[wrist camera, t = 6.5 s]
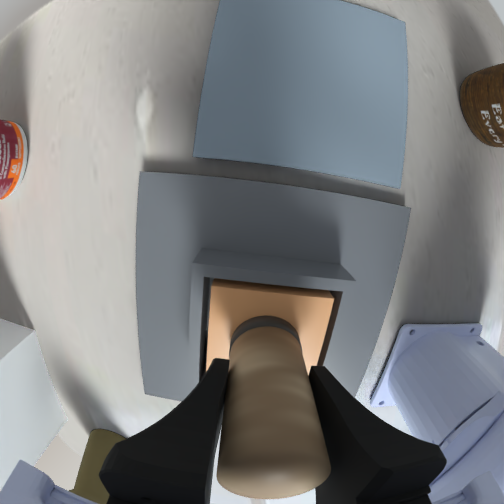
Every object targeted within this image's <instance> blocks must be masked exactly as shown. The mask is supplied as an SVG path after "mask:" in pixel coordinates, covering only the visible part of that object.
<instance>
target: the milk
mask: <svg viewBox="0 0 504 504" xmlns="http://www.w3.org/2000/svg"><path fill="white" fill-rule="evenodd" d="M67 420H68V418H67V416H66V414H65V412H64V409H63V407H62V405H61V403H60V400H59V398H58V396H57V393H56V391H55V388H54V386H53V383H52V381H51V378H50V375H49V372H48V370H47V367H46V364H45V361H44V358H43V355H42V352H41V349H40V345H39V342H38V339H37V335H36V332H35V330H34V329H30V328H27V327H24V326H21V325H18V324H15V323H12V322H9V321H6V320H4V319H1V318H0V491H1V490H2V488H3V486H4V485H5V483H6V481H7V480H8V478H9V476H10V475H11V473H12V471H13V470H14V468H15V466H16V465H17V463H18V462H19V460H23V461H25V462H27V463H28V464H30V465H32V466H33V467H34V465H35V464H36V462H37V461H38V460H39V458H40V457H41V455H42V454H43V453H44V451H45V450H46V448H47V447H48V446H49V444H50V443H51V441H52V440H53V439H54V438H55V436H56V435H57V434H58V432H59V431H60V429H61V428H62V427H63V425H64V424H65V423H66V422H67Z"/></svg>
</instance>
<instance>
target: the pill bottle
mask: <svg viewBox="0 0 504 504" xmlns="http://www.w3.org/2000/svg"><path fill="white" fill-rule="evenodd" d="M27 155H28V148H27V140H26V136H25V133H24V131H23V129H22V127H20V126H19V125H18V124H17V123H15V122H12V121H5V120H0V199H4V198H7V197H9V196H10V195H12V194H13V193H14V192H15V191H16V189H17V188H18V186H19V185H20V183H21V181H22V179H23V176H24V173H25V169H26V164H27Z"/></svg>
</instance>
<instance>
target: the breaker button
mask: <svg viewBox="0 0 504 504" xmlns="http://www.w3.org/2000/svg"><path fill="white" fill-rule="evenodd" d="M333 302H334V297H333V296H332V294H331V293H330V291H329V290H322V289H311V288H301V287H291V286H281V285H272V284H263V283H254V282H245V281H236V280H228V279H219V278H214V280H213V283H212V286H211V298H210V312H209V327H208V344H207V363H206V371H207V370H208V368H209V367H210V365H211V363H212V360H213V359H215V358H221V359H229V349H230V341H231V337H232V335H233V333H234V331H235V330H236V328H237V327H238V326H239V325H240V324H242V323H243V322H244V321H246V320H248V319H250V318H253V317H257V316H264V315H267V316H276V317H279V318H282V319H284V320H286V321H287V322H289V323H290V324H291V325H292V326H293V327H294V328H295V329H296V331H297V333H298V336H299V339H300V343H301V346H302V354H303V358H304V361H305V365H306V369H307V373H308V375H309V372H310V369H311V366H317V362H318V359H319V355H320V352H321V348H322V345H323V341H324V337H325V334H326V330H327V326H328V322H329V318H330V314H331V310H332V306H333Z"/></svg>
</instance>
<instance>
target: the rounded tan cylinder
mask: <svg viewBox="0 0 504 504" xmlns="http://www.w3.org/2000/svg"><path fill="white" fill-rule="evenodd" d="M229 360H230V363H229V372H228V381H227V389H226V395H225V402H224V411H223V420H222V429H221V438H220V447H219V457H218V466H217V480H218V482H219V484H220V485H221V486H222V487H223V488H225V489H226V490H228V491H230V492H232V493H234V494H237V495H240V496H244V497H249V498H255V499H279V498H287V497H292V496H296V495H299V494H302V493H305V492H308V491H310V490H312V489H314V488H316V487H317V486H319V485H320V484H322V483H323V482H324V481H325V480H326V479H327V478H328V477H329V475H330V472H331V465H330V461H329V456H328V452H327V448H326V444H325V440H324V436H323V432H322V428H321V424H320V420H319V416H318V412H317V408H316V404H315V400H314V396H313V392H312V388H311V384H310V381H309V377H308V373H307V369H306V365H305V361H304V358H303V354H302V346H301V343H300V339H299V336H298V333H297V331H296V329H295V328H294V327H293V326H292V325H291V324H290V323H289V322H287V321H286V320H284V319H282V318H279V317H276V316H267V315H264V316H257V317H253V318H250V319H248V320H246V321H244V322H243V323H242V324H240V325H239V326H238V327H237V328H236V330H235V331H234V333H233V335H232V337H231V341H230V349H229Z"/></svg>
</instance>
